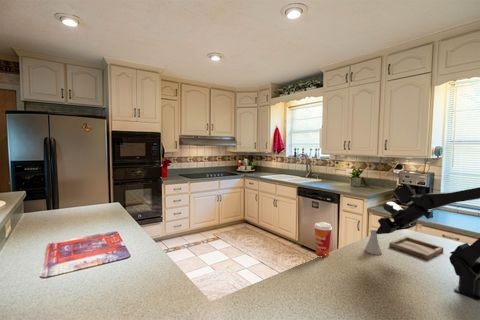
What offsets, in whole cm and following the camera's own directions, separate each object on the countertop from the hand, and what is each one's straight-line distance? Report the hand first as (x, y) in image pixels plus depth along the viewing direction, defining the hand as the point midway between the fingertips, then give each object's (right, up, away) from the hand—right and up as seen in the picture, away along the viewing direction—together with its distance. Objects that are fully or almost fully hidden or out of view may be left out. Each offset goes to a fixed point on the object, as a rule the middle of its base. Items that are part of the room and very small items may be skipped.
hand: (383, 231), depth 109 cm
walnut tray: (+20, -11, +7) cm, 24 cm away
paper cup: (-27, -11, +1) cm, 29 cm away
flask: (-2, -11, +5) cm, 12 cm away
